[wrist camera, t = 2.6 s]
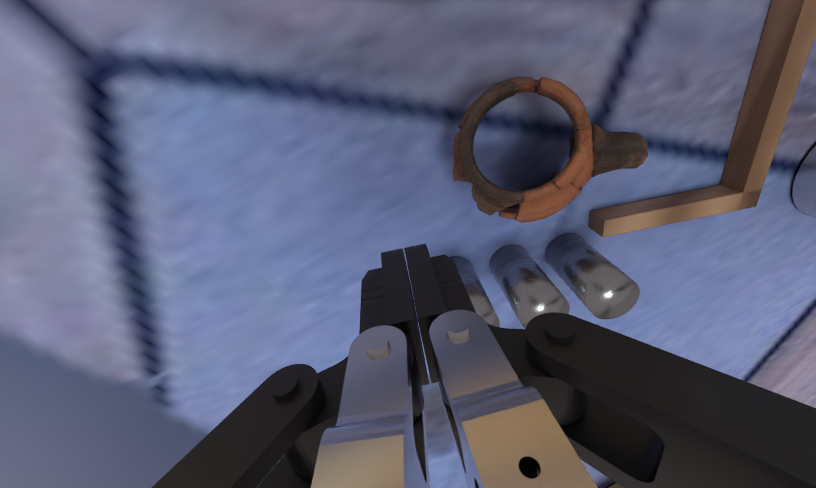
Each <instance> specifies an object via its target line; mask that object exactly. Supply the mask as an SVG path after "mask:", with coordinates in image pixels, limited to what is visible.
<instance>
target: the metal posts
mask: <svg viewBox="0 0 816 488" xmlns="http://www.w3.org/2000/svg"><path fill="white" fill-rule="evenodd" d="M545 258H546V261H547V263H548V264H549V265H550V266H551V267H552V268H553V270H554V271H555V272H556V273H557V274H558V275H559V276H560V277H561V279H562V280H563V281H564V282H565V283H566V284H567V285H568V286H569V288H570V289H571V290H572V291H573V292H574V293H575V294H576V296H577V297H578V298H579V299H580V300H581V301H582V302H583V303H584V305H585V306H586V307H587V308H588V309H589V310H590V311H591V312H592V314H593V315H594V316H596V317H597V318H600V319H613V318H616V317H619V316H621V315H623V314H625V313H626V312H628V311H629V310H630V309H631V308H632V307H633V306H634V305H635V303H636V302H637V300H638V298H639V293H640V291H639V287H638V285H637V284H636V283H635V282H634V281H633V280H632V279H630V278H629V277H628V276H627V275H626V274H624V273H623V272H622V271H621V270H619V269H618V268H617V267H616V266H615V265H613V264H612V263H611V262H610V261H609V260H607V259H606V258H605V257H604V256H603V255H601V254H600V253H599V252H598V251H596V250H595V249H594V248H593V247H592V246H590V245H589V244H588V243H587V242H586V241H584V240H583V239H582V238H581V237H580V236H578V235H576V234H564V235H561V236H559V237H557V238H555V239H554V240H553V241H552V242H551V243H550V244H549V246H548V247H547V250H546V253H545ZM450 259H451V260H453V261H454V262H455V265H456V267H457V269H458V272H459V274H460V276H461V279H462V281H463V283H464V286H465V288H466V290H467V293H468V295H469V297H470V300H471V302H472V304H473V307H474V309H475V311H476V313H477V314H478V315H480V316H481V317H482V318H483V319H484V320H485V321H486V323H488V324H490V325H493V326H496V327H499V319H498V317H497V315H496V313H495V311H494V309H493V307H492V305H491V303H490V301H489V299H488V297H487V295H486V293H485V291H484V288H483V286H482V284H481V282H480V280H479V278H478V276H477V274H476V272H475V270H474V268H473V266H472V264H471V263H470V262H469V261H468V260H467V259H465V258H463V257H450ZM490 269H491V272H492V274H493V275H494V277H495V279H496V280H497V282H498V284H499V286H500V287H501V289H502V291H503V293H504V294H505V296H506V298H507V300H508V301H509V303H510V305H511V307H512V308H513V310H514V312H515V314H516V315H517V317H518V319H519V321H520V322H521V324H522V326H523V327H524V328H525V329H526V326H527V324H528V323H529V321H530V320H531V319H532V318H534V317H536V316H538V315H540V314H544V313H550V312H557V313H565V314H568V313H569V303H568V301H567V300H566V299H565V297H564V296H563V295H562V294H561V292H560V291H559V290H558V289H557V288H556V286H555V285H554V284H553V283H552V282H551V280H550V279H549V278H548V277H547V276H546V274H545V273H544V272H543V271H542V269H541V268H540V267H539V266H538V265H537V263H536V262H535V261H534V260H533V259H532V257H531V256H530V255H529V254H528V253H527V251H526V250H525V249H524V248H522V247H520V246H517V245H509V246H505V247H503V248H501V249H499V250H498V251H497V252H496V253H495V254H494V255H493V257H492V259H491V261H490Z"/></svg>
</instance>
